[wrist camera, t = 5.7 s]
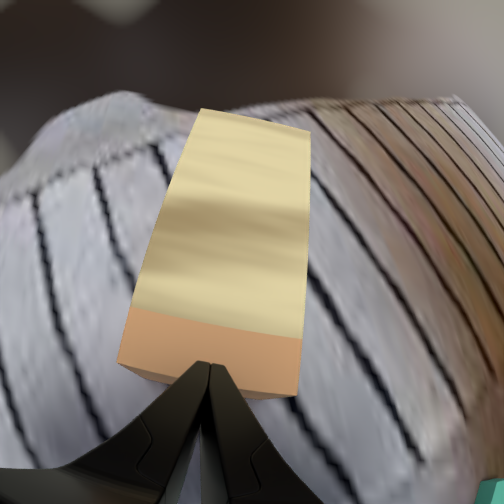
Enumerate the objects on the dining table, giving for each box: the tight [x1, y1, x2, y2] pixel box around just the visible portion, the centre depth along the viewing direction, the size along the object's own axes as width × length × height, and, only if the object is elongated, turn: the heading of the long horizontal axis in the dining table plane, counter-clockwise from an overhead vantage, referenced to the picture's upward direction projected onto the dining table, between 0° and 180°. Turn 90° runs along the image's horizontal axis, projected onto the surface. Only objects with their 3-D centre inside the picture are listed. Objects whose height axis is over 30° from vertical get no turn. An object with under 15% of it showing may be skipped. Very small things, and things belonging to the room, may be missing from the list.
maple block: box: [116, 108, 310, 400], centre depth 15 cm, size 6×6×13 cm
